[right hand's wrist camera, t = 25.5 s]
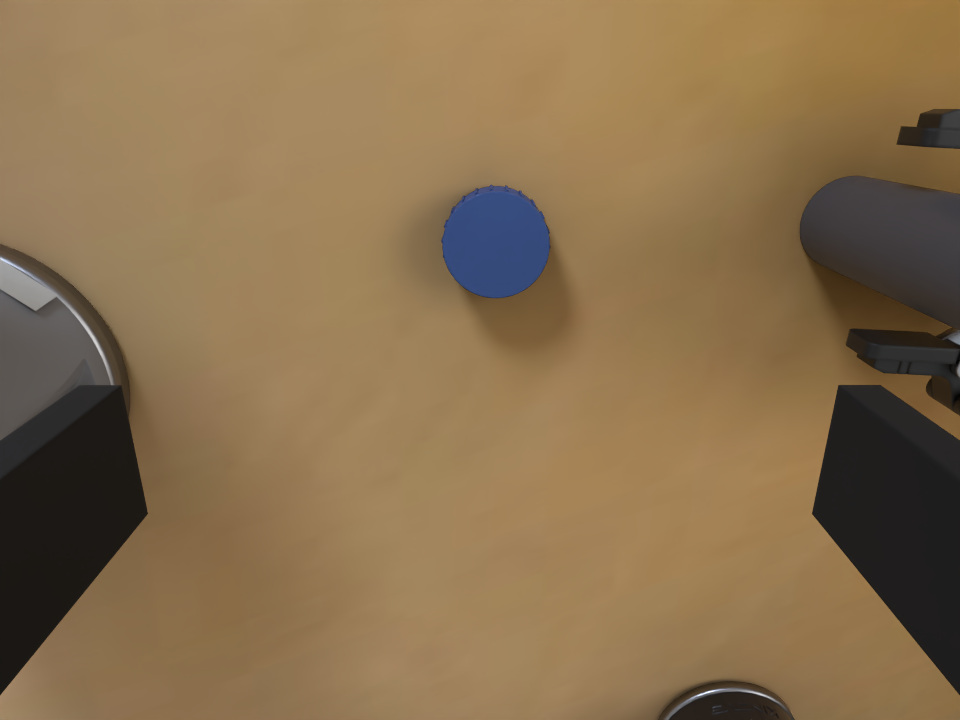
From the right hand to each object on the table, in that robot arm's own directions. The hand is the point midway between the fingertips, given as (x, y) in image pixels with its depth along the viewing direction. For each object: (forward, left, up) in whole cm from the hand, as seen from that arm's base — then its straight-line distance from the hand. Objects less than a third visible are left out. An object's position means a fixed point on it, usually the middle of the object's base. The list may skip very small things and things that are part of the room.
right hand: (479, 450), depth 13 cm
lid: (0, 0, -21) cm, 21 cm away
